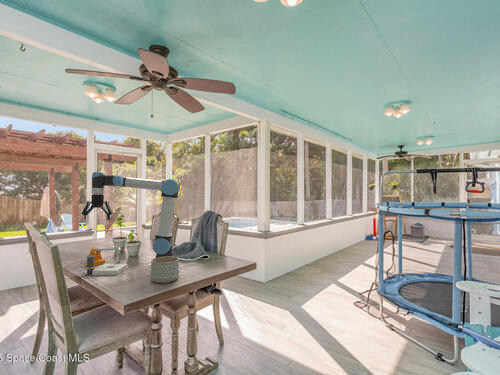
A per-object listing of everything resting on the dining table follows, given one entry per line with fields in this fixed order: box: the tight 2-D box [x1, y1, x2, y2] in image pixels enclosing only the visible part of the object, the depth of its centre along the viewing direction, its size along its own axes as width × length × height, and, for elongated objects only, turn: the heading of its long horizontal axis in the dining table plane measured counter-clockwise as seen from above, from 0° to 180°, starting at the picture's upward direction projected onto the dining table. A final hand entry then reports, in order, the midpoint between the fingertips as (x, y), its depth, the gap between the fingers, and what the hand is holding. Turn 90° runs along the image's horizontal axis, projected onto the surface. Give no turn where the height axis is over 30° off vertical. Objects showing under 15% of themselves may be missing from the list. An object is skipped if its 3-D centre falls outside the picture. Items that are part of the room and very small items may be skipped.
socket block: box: [91, 263, 129, 276], centre depth 181 cm, size 16×16×3 cm
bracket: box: [85, 247, 106, 267], centre depth 198 cm, size 11×7×12 cm, turn 145°
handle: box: [95, 246, 121, 264], centre depth 188 cm, size 2×16×14 cm, turn 115°
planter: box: [150, 255, 180, 284], centre depth 165 cm, size 16×16×13 cm
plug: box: [86, 255, 96, 276], centre depth 175 cm, size 5×5×12 cm
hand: (97, 224), depth 183 cm, fingers open, 13 cm apart
